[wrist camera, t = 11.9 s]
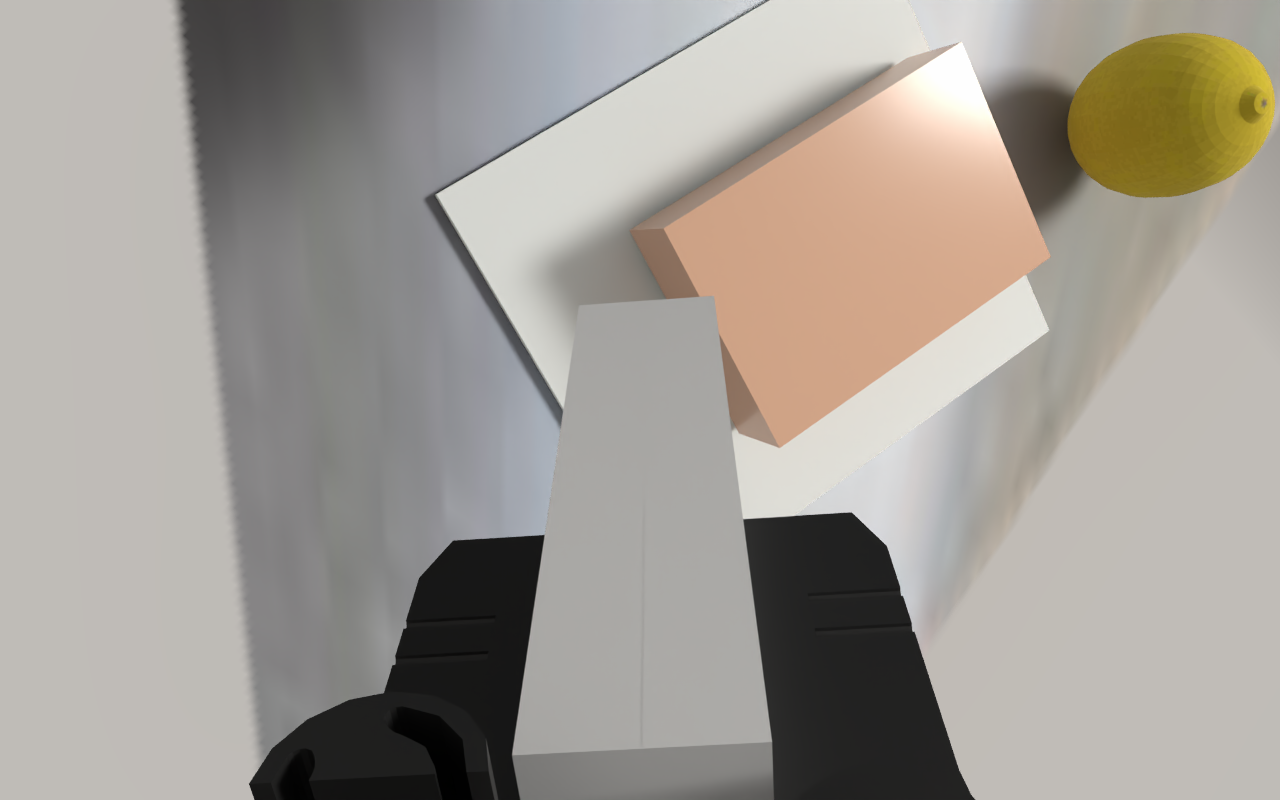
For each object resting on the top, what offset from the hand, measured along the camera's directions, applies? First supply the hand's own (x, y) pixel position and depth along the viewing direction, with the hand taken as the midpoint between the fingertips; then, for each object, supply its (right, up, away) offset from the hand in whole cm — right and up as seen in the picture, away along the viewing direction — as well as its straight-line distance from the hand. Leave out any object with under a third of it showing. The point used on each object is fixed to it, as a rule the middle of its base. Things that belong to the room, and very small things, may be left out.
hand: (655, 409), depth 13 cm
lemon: (+17, +11, +30) cm, 36 cm away
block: (+2, +2, +22) cm, 23 cm away
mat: (+5, +5, +26) cm, 26 cm away
